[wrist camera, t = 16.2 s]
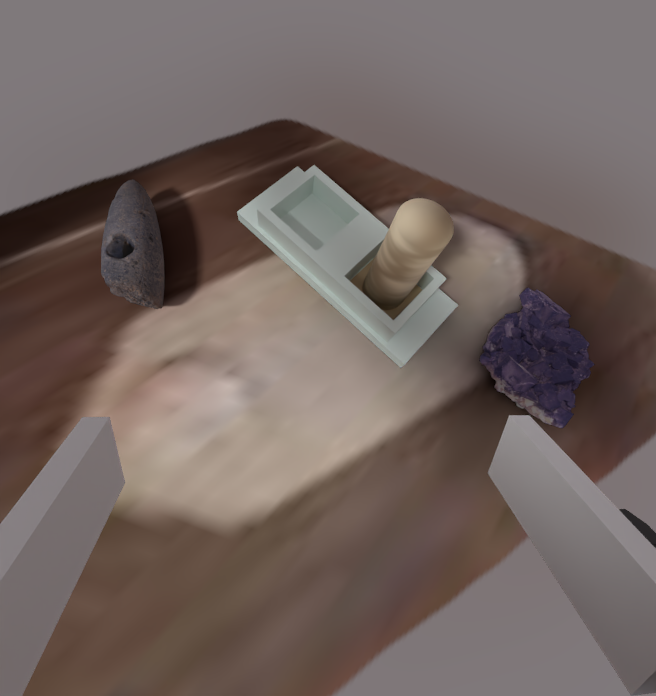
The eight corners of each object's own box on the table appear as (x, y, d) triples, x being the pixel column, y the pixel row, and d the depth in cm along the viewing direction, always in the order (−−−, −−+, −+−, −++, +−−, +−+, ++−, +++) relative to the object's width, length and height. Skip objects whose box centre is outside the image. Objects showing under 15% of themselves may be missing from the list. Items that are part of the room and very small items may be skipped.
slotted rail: (238, 219, 44) (233, 194, 40) (297, 175, 47) (298, 146, 43) (400, 367, 41) (414, 357, 37) (452, 310, 44) (470, 293, 40)
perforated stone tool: (124, 204, 43) (95, 157, 37) (171, 202, 44) (151, 157, 37) (120, 323, 39) (87, 295, 33) (172, 319, 40) (150, 291, 33)
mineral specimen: (590, 350, 46) (621, 338, 42) (537, 432, 41) (567, 428, 37) (518, 290, 47) (542, 273, 43) (459, 363, 42) (479, 352, 38)
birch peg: (353, 290, 41) (384, 222, 30) (380, 262, 43) (418, 188, 32) (388, 318, 41) (432, 260, 30) (413, 289, 42) (464, 223, 31)
